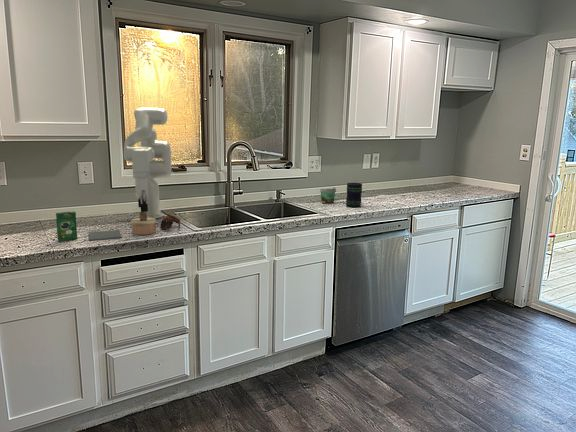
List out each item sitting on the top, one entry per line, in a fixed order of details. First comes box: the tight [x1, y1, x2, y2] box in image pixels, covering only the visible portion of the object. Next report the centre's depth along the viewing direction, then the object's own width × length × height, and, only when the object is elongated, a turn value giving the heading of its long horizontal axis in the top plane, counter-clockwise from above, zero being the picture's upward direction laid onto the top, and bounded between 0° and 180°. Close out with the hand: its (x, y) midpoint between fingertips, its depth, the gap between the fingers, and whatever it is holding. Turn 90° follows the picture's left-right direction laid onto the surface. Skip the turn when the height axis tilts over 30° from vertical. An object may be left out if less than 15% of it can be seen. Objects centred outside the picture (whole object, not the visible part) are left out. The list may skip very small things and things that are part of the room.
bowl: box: [131, 222, 157, 236], centre depth 225 cm, size 11×11×5 cm
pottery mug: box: [159, 213, 181, 231], centre depth 234 cm, size 12×10×8 cm
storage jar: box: [345, 182, 363, 209], centre depth 297 cm, size 10×10×15 cm
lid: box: [130, 211, 157, 226], centre depth 224 cm, size 12×12×5 cm
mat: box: [88, 229, 123, 242], centre depth 219 cm, size 14×14×1 cm
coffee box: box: [55, 210, 78, 243], centre depth 209 cm, size 8×3×13 cm, turn 135°
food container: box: [319, 187, 337, 205], centre depth 306 cm, size 12×6×10 cm, turn 127°
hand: (143, 209), depth 224 cm, fingers open, 9 cm apart
